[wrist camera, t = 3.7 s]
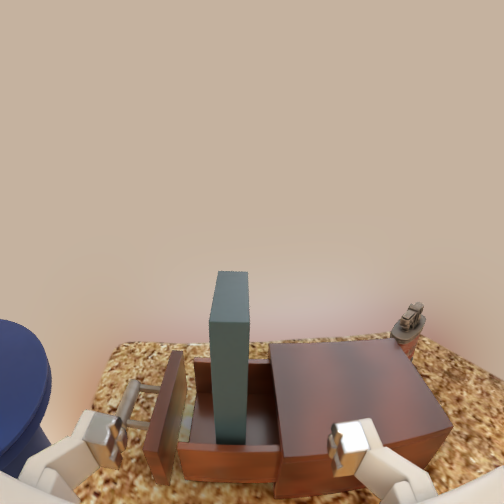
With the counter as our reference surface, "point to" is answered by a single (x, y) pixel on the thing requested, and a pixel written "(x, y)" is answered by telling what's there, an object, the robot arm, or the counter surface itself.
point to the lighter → (409, 329)
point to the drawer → (207, 427)
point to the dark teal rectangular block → (230, 356)
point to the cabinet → (348, 408)
